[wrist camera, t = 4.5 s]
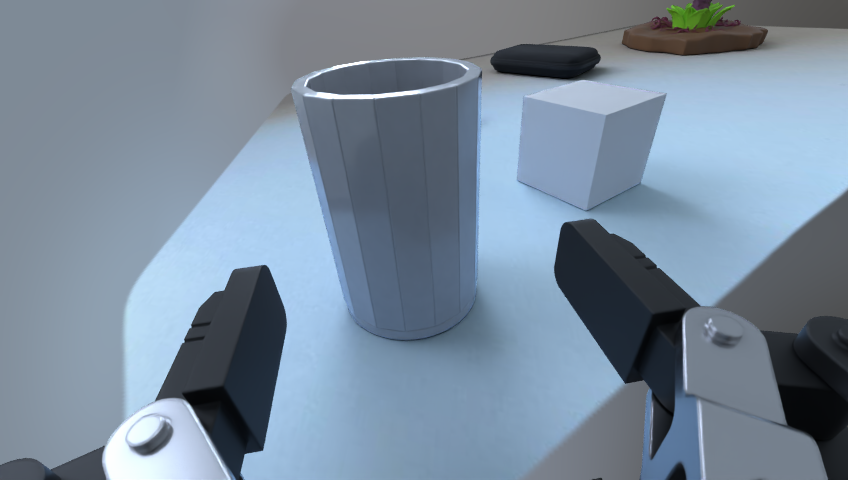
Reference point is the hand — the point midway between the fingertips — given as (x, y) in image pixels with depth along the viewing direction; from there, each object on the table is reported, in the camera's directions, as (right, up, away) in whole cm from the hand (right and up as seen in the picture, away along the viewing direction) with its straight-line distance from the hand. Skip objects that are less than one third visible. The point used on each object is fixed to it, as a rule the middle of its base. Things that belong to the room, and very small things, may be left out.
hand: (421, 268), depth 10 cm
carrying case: (+19, +27, +48) cm, 58 cm away
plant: (+47, +36, +57) cm, 83 cm away
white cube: (+11, +5, +17) cm, 21 cm away
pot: (-1, -2, +8) cm, 8 cm away
